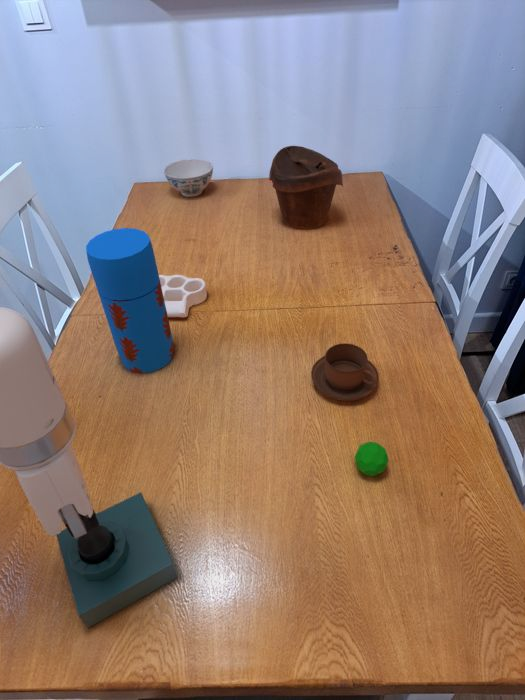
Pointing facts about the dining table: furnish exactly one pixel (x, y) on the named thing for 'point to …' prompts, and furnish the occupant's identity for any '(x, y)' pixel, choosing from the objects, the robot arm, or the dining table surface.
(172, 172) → the chinaware
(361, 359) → the cup and saucer
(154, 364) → the thermos
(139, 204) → the dining table surface
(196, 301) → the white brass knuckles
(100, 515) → the push-button housing
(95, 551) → the knob
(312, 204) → the brown lidded bucket
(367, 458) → the polyhedron
